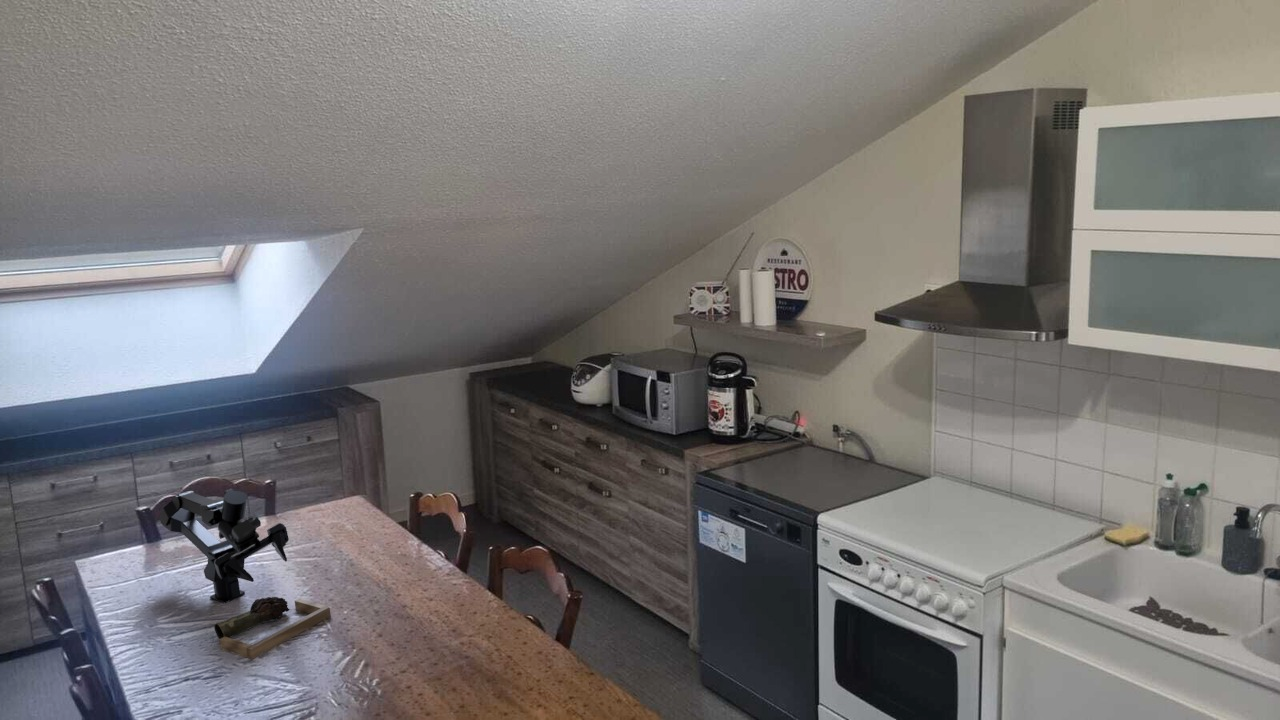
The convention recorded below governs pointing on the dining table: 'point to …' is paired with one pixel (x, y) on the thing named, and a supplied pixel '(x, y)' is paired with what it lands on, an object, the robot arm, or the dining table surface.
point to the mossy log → (252, 616)
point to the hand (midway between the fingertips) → (269, 570)
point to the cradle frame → (252, 651)
